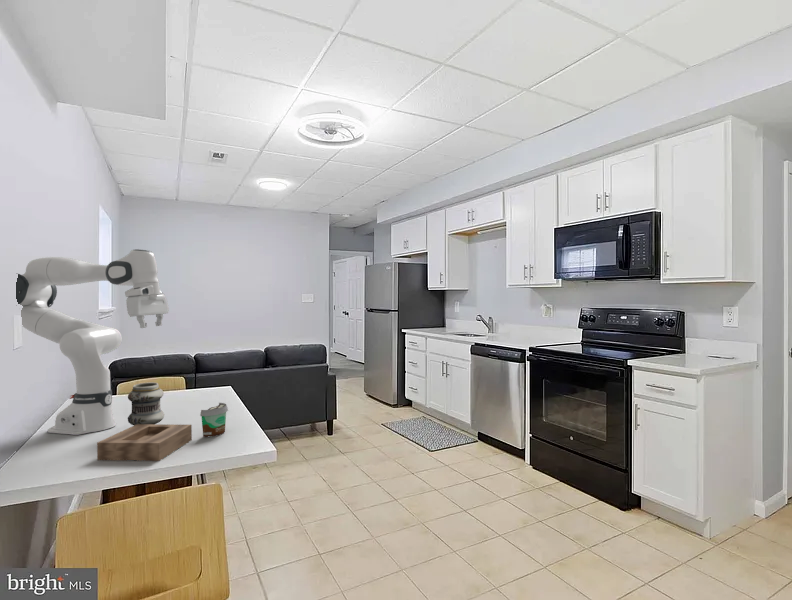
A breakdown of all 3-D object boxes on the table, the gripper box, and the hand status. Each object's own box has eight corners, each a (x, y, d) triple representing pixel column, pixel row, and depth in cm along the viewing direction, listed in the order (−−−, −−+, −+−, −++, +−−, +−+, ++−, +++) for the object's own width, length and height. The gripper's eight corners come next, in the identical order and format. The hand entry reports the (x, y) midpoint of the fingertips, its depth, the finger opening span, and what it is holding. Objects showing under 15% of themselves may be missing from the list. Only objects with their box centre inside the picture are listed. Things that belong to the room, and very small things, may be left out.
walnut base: (97, 460, 144) (97, 442, 144) (136, 439, 164) (136, 424, 164) (159, 460, 143) (159, 443, 143) (191, 440, 163) (191, 424, 163)
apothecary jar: (137, 439, 164) (136, 389, 164) (122, 433, 172) (121, 385, 171) (170, 430, 174) (169, 383, 174) (155, 425, 181) (154, 380, 181)
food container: (216, 439, 164) (215, 411, 164) (200, 438, 165) (200, 410, 165) (235, 428, 176) (234, 402, 176) (220, 428, 177) (219, 402, 177)
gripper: (156, 292, 188) (160, 325, 188) (121, 292, 167) (126, 330, 168) (170, 290, 187) (174, 324, 187) (137, 290, 167) (142, 328, 167)
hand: (151, 326), depth 177 cm, fingers open, 8 cm apart
